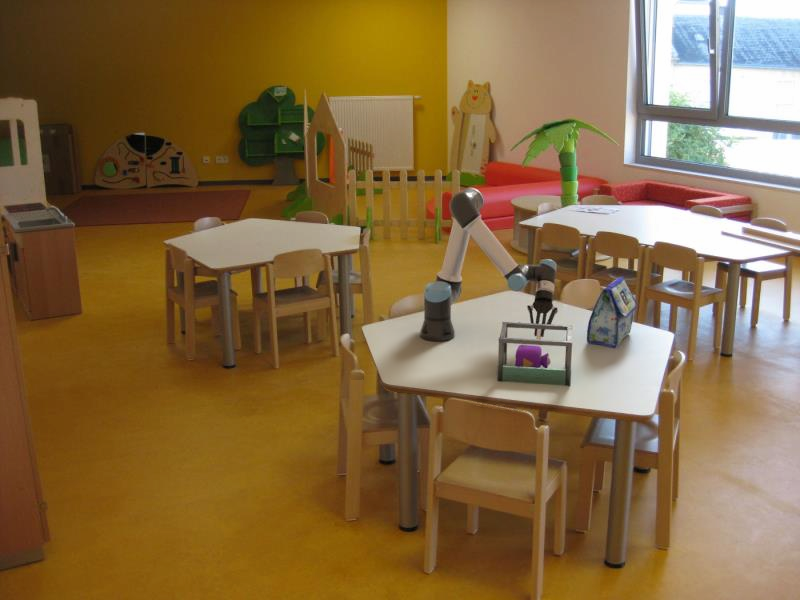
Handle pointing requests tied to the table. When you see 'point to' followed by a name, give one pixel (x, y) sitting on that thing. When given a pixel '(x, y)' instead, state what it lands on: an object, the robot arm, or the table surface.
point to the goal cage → (530, 372)
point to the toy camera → (531, 357)
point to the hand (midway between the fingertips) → (537, 343)
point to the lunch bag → (612, 315)
